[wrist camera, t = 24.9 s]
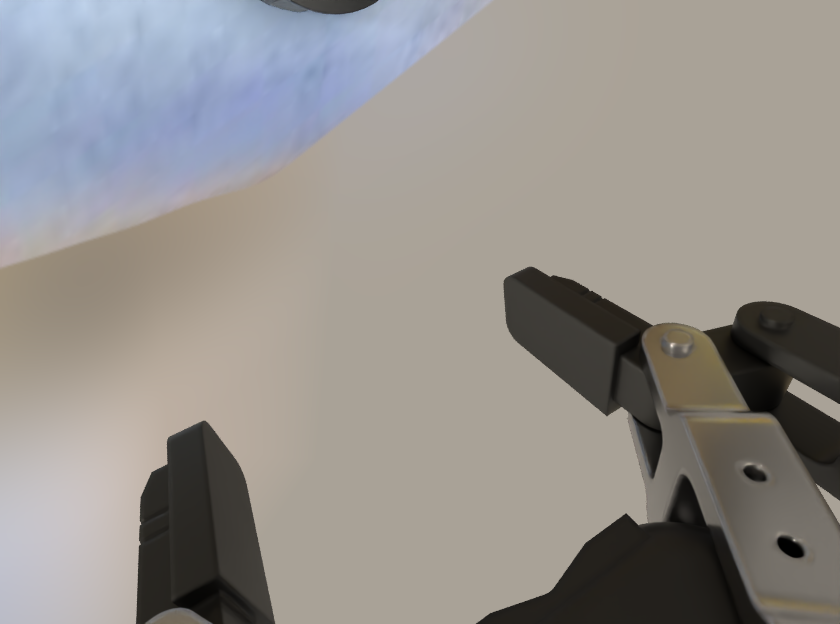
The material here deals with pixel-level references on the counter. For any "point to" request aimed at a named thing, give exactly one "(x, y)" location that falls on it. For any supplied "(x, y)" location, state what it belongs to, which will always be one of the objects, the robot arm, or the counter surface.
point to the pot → (284, 5)
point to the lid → (333, 5)
